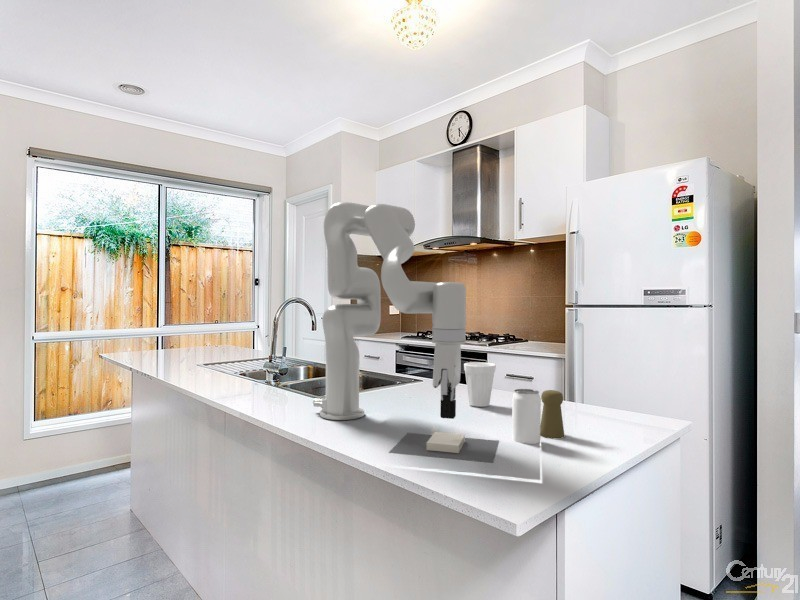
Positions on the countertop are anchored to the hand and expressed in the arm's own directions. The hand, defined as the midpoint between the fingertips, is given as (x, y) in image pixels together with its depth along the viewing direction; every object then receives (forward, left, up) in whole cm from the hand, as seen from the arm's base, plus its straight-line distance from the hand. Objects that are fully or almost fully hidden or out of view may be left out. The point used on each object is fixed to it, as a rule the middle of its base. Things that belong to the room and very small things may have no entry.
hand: (448, 417), depth 111 cm
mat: (0, -2, -7) cm, 7 cm away
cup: (+2, +45, -7) cm, 46 cm away
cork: (+23, +17, -7) cm, 29 cm away
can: (+17, +9, -7) cm, 20 cm away
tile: (0, +3, -5) cm, 6 cm away
